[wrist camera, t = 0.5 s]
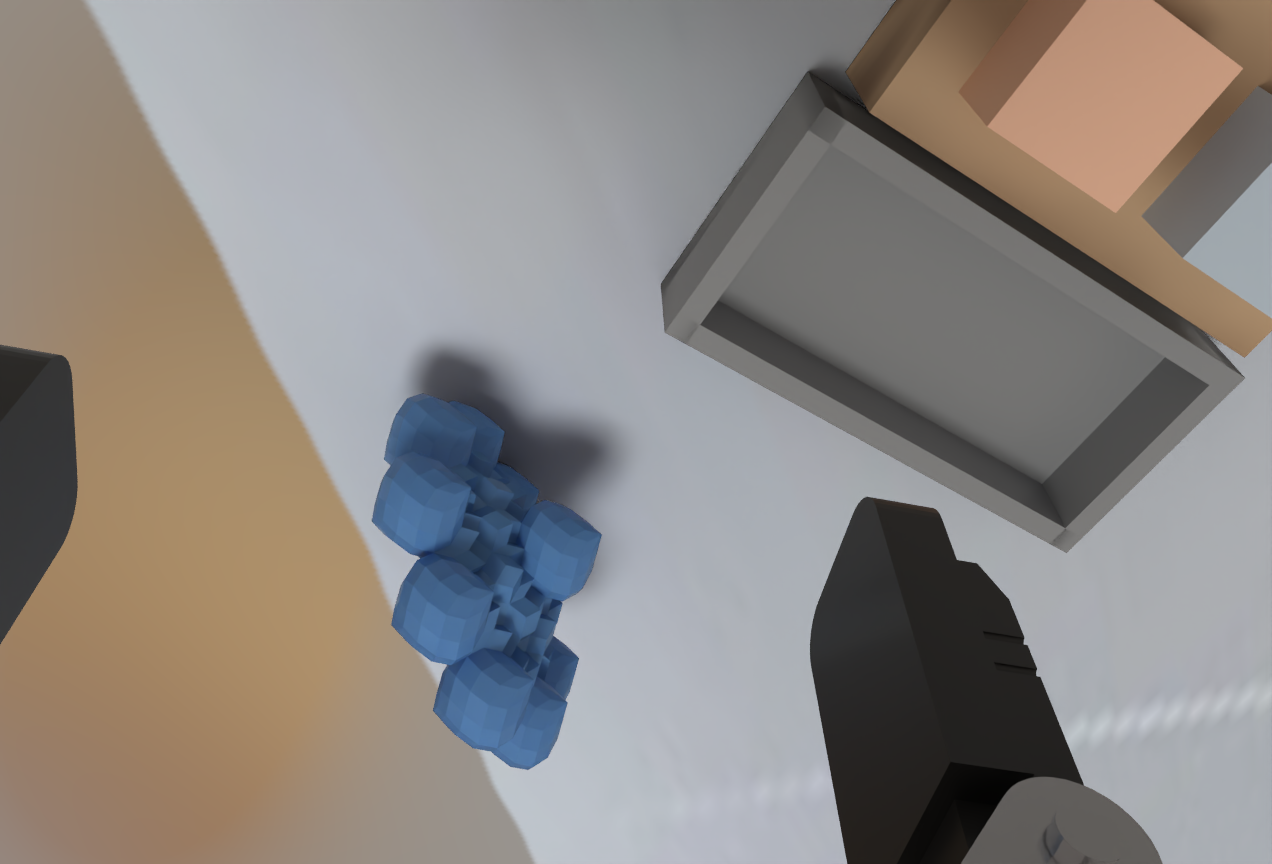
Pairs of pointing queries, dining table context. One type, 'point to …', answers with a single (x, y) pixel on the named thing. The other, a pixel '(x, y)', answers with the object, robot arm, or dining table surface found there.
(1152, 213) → the pale blue-gray cube
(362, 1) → the dining table surface
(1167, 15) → the cube terracotta
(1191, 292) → the board
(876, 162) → the tray
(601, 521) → the dining table surface
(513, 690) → the grapes
